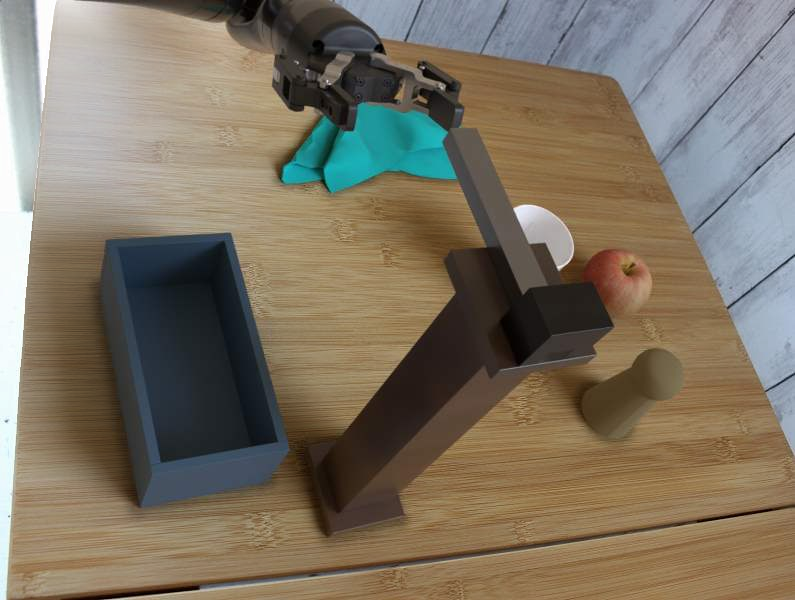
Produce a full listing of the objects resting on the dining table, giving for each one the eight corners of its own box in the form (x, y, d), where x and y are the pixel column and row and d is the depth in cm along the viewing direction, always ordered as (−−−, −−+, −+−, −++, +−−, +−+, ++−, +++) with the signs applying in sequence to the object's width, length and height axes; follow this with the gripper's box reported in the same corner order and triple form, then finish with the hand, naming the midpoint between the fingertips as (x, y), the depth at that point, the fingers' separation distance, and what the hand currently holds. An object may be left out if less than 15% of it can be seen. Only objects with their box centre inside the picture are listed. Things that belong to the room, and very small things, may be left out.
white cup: (531, 273, 95) (577, 223, 87) (522, 328, 91) (570, 280, 83) (469, 246, 94) (510, 192, 86) (457, 300, 89) (499, 248, 81)
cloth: (444, 94, 106) (451, 82, 104) (487, 180, 101) (495, 168, 99) (249, 99, 93) (254, 84, 92) (286, 197, 88) (292, 184, 86)
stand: (400, 520, 74) (598, 355, 49) (327, 538, 71) (499, 370, 45) (374, 436, 77) (545, 242, 52) (303, 450, 74) (450, 249, 49)
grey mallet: (580, 357, 48) (615, 327, 45) (518, 367, 46) (550, 336, 43) (483, 141, 55) (508, 103, 52) (425, 142, 53) (448, 102, 50)
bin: (266, 483, 71) (290, 449, 65) (139, 508, 66) (151, 475, 60) (214, 278, 80) (231, 232, 74) (98, 288, 75) (105, 239, 69)
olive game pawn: (589, 376, 90) (650, 327, 82) (636, 406, 91) (701, 360, 82) (574, 418, 87) (635, 371, 78) (622, 449, 87) (689, 406, 78)
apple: (579, 329, 93) (619, 293, 87) (559, 269, 97) (597, 230, 91) (636, 330, 97) (679, 295, 90) (615, 272, 100) (655, 235, 94)
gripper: (250, -1, 67) (321, 64, 55) (406, 11, 73) (501, 72, 61) (242, 90, 71) (307, 169, 59) (392, 94, 77) (478, 166, 65)
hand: (406, 119), depth 60 cm, fingers open, 8 cm apart
